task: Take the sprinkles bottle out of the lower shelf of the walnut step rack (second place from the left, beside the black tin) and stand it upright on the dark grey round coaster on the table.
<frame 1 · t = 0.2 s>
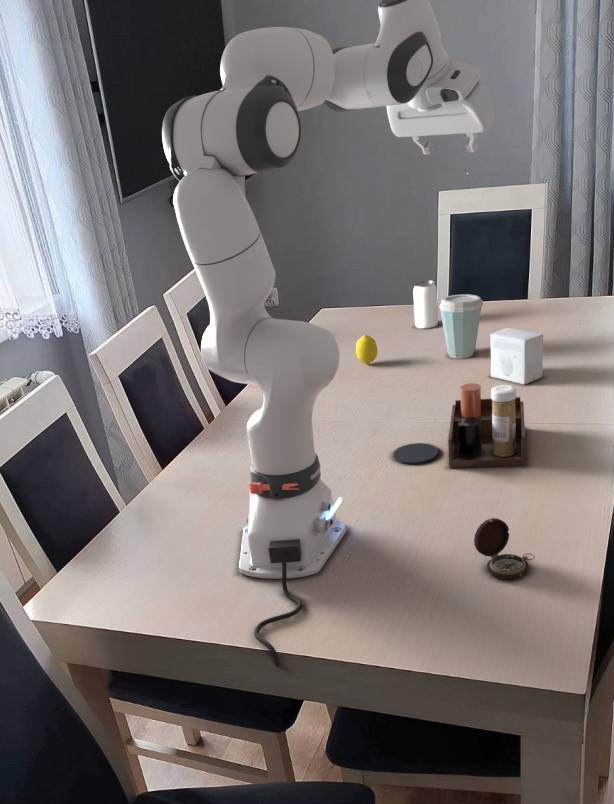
hand: (451, 151, 163), 54 cm above the table, tool tilted 30°, fingers open, 8 cm apart
can: (426, 326, 249), on the table
black spice tin: (470, 454, 173), resting in spice rack
coaster: (415, 454, 177), on the table
cosmetics box: (516, 377, 205), on the table
compass: (509, 566, 137), on the table
terracotta spice jar: (471, 414, 177), point 5 cm above the table, touching spice rack
sprinkles bottle: (504, 453, 171), resting in spice rack
lemon: (367, 365, 228), on the table
spice rack: (487, 448, 174), on the table
disposable coffee cup: (462, 355, 223), on the table
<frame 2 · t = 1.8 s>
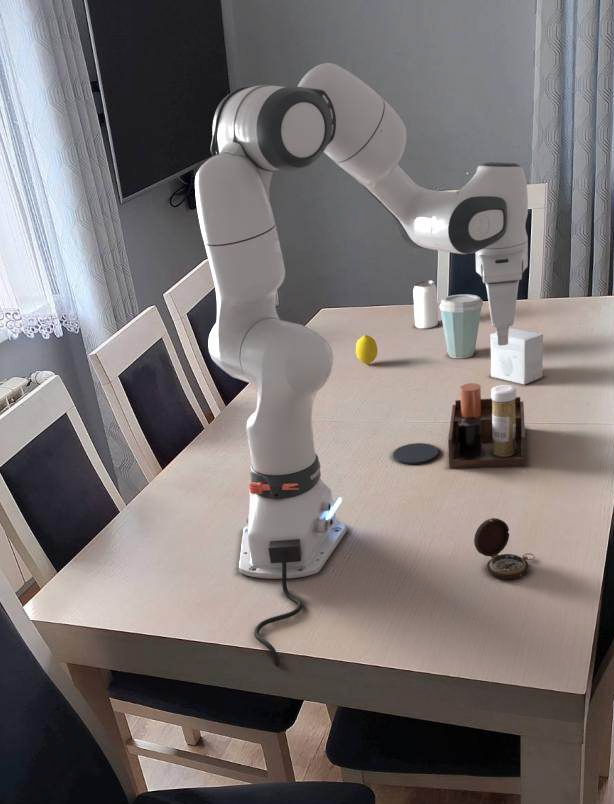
hand: (502, 335, 160), 24 cm above the table, tool pointing down, fingers open, 8 cm apart
nothing on the table moved.
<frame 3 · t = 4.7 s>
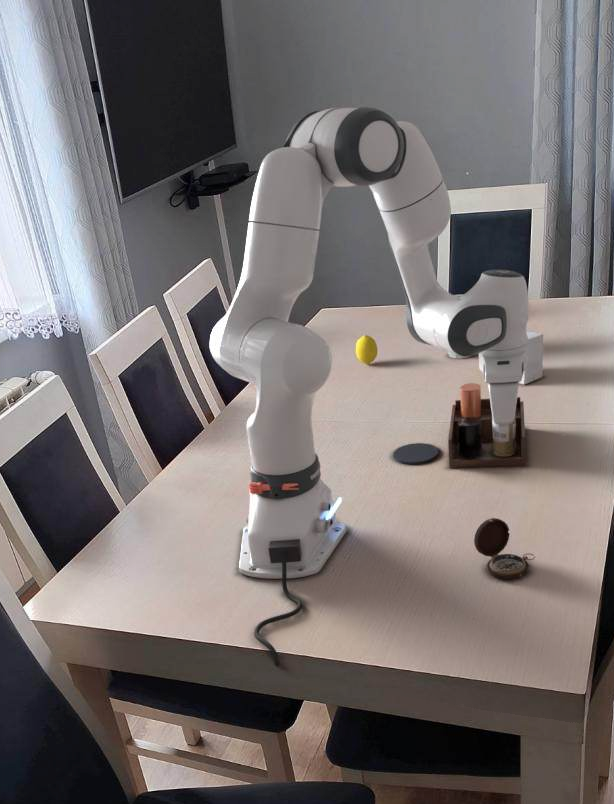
hand: (503, 426, 168), 6 cm above the table, tool pointing down, fingers closed on sprinkles bottle, 4 cm apart
sprinkles bottle: (504, 453, 171), resting in spice rack, touching gripper
everything else where it was.
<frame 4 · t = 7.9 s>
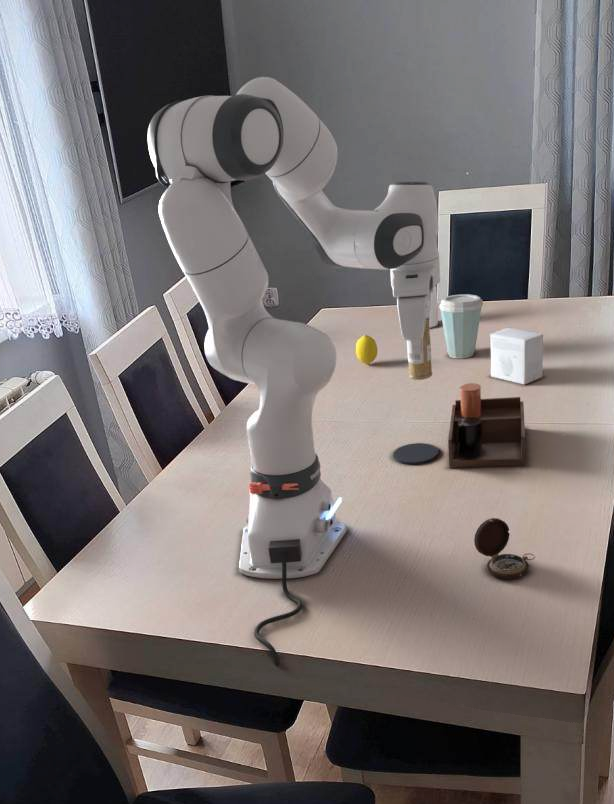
hand: (418, 348, 165), 22 cm above the table, tool pointing down, fingers closed on sprinkles bottle, 4 cm apart
sprinkles bottle: (420, 377, 168), point 17 cm above the table, touching gripper
everything else where it was.
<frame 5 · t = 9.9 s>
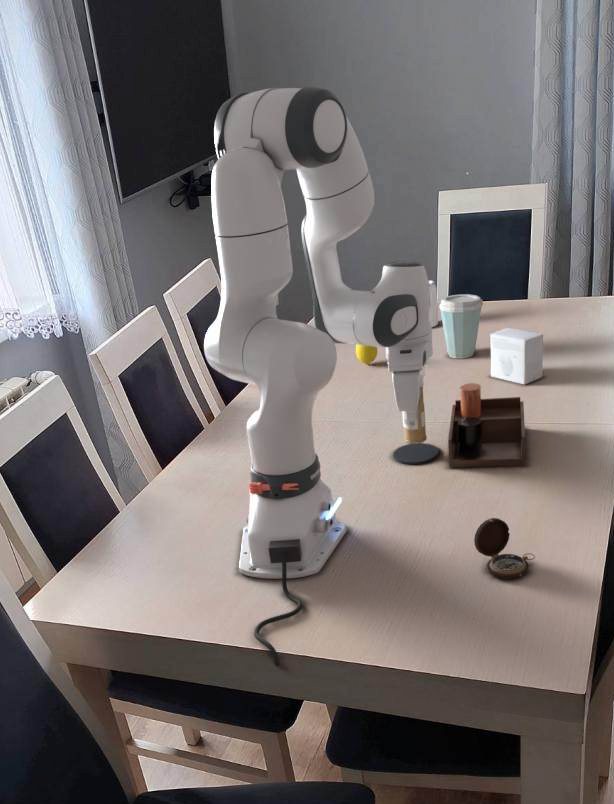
hand: (413, 414, 172), 9 cm above the table, tool pointing down, fingers closed on sprinkles bottle, 4 cm apart
sprinkles bottle: (415, 441, 175), point 3 cm above the table, touching gripper
everything else where it was.
when the fingers open (6 cm above the table, at t = 11.2 s): sprinkles bottle stays where it is, resting on coaster.
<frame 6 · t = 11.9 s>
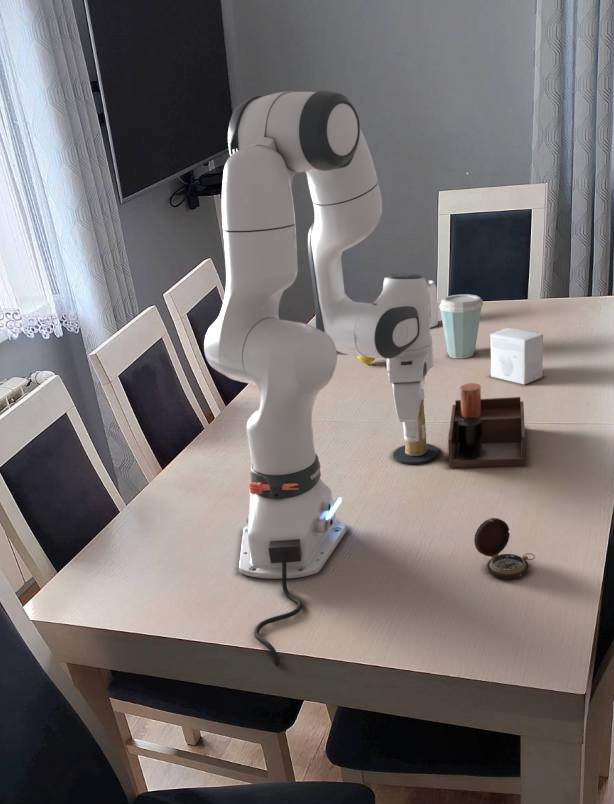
hand: (413, 425, 173), 7 cm above the table, tool pointing down, fingers open, 8 cm apart
sprinkles bottle: (416, 453, 176), resting on coaster
everything else where it was.
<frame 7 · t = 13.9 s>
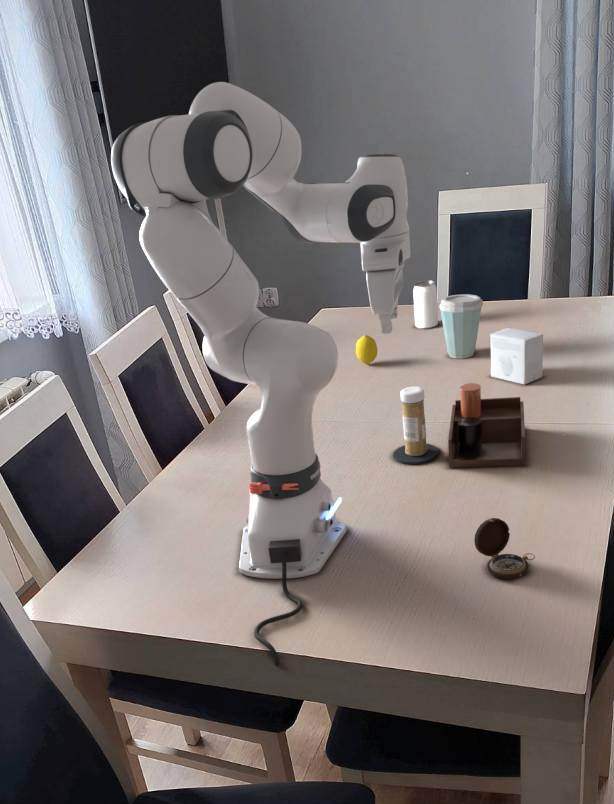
hand: (390, 325, 164), 27 cm above the table, tool pointing down, fingers open, 8 cm apart
nothing on the table moved.
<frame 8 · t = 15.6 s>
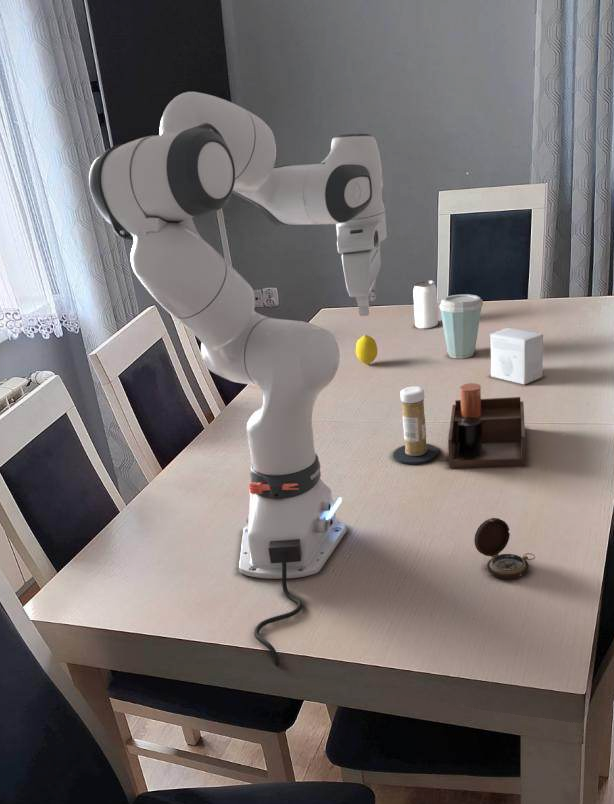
hand: (368, 307, 163), 31 cm above the table, tool pointing down, fingers open, 8 cm apart
nothing on the table moved.
at the end: sprinkles bottle 0.1 cm off-centre on the coaster, point 0.3 cm above the coaster's base; sprinkles bottle tilted 0°; the gripper is holding nothing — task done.
